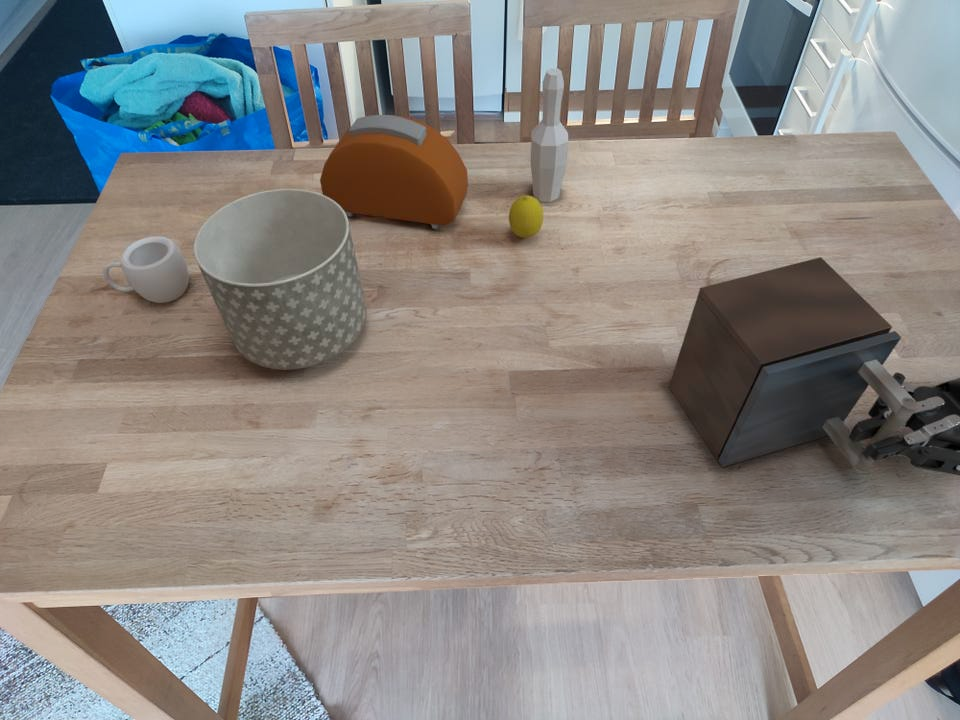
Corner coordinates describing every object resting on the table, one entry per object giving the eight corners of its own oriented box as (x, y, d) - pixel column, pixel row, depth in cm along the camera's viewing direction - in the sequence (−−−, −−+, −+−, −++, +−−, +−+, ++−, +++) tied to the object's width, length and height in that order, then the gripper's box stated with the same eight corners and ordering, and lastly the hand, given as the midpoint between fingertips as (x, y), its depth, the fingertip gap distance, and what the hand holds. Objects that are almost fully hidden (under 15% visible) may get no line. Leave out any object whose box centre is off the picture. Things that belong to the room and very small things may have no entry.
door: (872, 478, 78) (950, 385, 65) (753, 516, 75) (809, 427, 62) (830, 427, 83) (895, 330, 69) (717, 460, 80) (762, 366, 67)
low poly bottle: (523, 187, 118) (527, 65, 101) (556, 181, 119) (566, 59, 102) (534, 207, 114) (541, 84, 97) (569, 201, 115) (581, 78, 98)
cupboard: (827, 425, 83) (892, 326, 70) (716, 459, 80) (761, 364, 67) (772, 357, 91) (821, 256, 77) (668, 386, 88) (700, 287, 74)
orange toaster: (470, 203, 115) (466, 114, 102) (456, 235, 109) (451, 144, 97) (345, 186, 119) (327, 98, 107) (325, 215, 114) (304, 126, 101)
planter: (221, 384, 89) (172, 285, 76) (254, 288, 102) (216, 188, 88) (361, 383, 89) (336, 284, 75) (376, 287, 101) (358, 187, 88)
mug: (199, 270, 105) (181, 230, 99) (191, 307, 99) (171, 267, 93) (122, 277, 104) (99, 238, 98) (109, 315, 99) (84, 276, 93)
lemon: (514, 224, 111) (515, 183, 105) (545, 230, 110) (548, 189, 104) (504, 243, 108) (504, 203, 102) (536, 250, 106) (539, 210, 100)
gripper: (963, 338, 75) (833, 375, 72) (1065, 433, 67) (923, 479, 64) (930, 379, 81) (808, 415, 78) (1021, 471, 72) (888, 515, 69)
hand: (860, 443), depth 71 cm, fingers closed, pressing on door
